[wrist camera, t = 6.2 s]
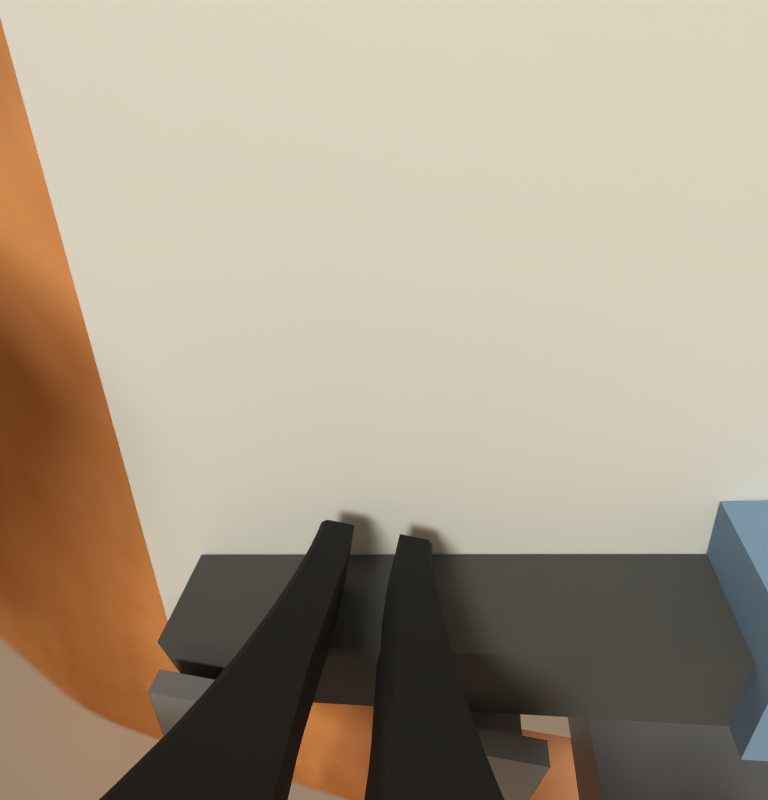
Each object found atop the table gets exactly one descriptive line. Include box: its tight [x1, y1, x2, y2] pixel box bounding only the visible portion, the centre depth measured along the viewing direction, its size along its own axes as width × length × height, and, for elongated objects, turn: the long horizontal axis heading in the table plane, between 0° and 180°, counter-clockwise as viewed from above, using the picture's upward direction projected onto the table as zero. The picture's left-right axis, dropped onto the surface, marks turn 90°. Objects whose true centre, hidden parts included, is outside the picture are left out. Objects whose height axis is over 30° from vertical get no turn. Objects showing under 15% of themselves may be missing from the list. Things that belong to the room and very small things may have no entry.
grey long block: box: [158, 501, 768, 761], centre depth 11 cm, size 16×4×3 cm, turn 100°
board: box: [0, 0, 768, 800], centre depth 10 cm, size 20×20×4 cm
